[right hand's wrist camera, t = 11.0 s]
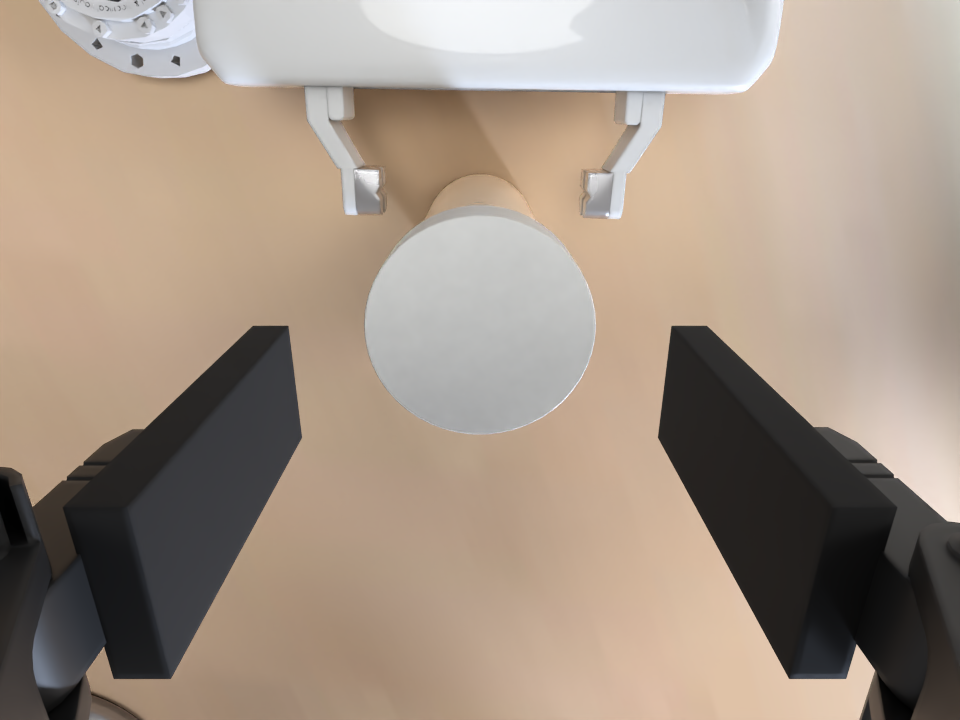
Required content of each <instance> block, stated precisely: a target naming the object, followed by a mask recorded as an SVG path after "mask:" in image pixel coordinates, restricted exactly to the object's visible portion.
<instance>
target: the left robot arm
mask: <svg viewBox="0 0 960 720" xmlns="http://www.w3.org/2000/svg"><path fill="white" fill-rule="evenodd" d="M783 4H784V0H193V10H194V22H195V33H196V41H197V46H198V50H199V53H200V55H201V57H202V58H203V60H204V61H205V62H206V63H207V64H208V66H209V67H210V68H211V69H212V70H213V72H214V73H215V74H216V75H217V76H218V77H219V78H220V79H221V81H222V82H224V83H226V84H229V85H235V86H243V87H282V88H304V89H305V101H306V113H307V121H308V123H309V124H310V126H311V127H312V129H313V131H314V132H315V134H316V135H317V137H318V139H319V140H320V142H321V143H322V145H323V146H324V148H325V150H326V151H327V153H328V154H329V156H330V157H331V159H332V161H333V162H334V164H335V165H336V167H337V168H339V169H341V180H342V195H343V208H344V211H345V214H346V215H383V213H384V212H385V211H386V207H387V195H386V193H385V191H384V190H383V187H384V185H385V183H386V172H385V166H367V165H366V164H365V163H364V161H363V159H362V157H361V156H360V154H359V152H358V150H357V149H356V147H355V145H354V144H353V142H352V140H351V138H350V137H349V135H348V133H347V131H346V130H345V128H344V126H343V124H342V123H341V121H340V120H352V119H353V118H354V117H355V110H354V89H409V90H473V91H536V92H600V93H616V97H615V110H614V122H615V123H616V124H623V125H628V126H627V127H626V129H625V131H624V132H623V134H622V135H621V137H620V139H619V140H618V142H617V144H616V145H615V147H614V148H613V150H612V152H611V153H610V155H609V156H608V158H607V160H606V161H605V163H604V164H603V166H602V169H582V172H581V185H580V186H581V187H582V189H583V191H584V192H583V193H582V194H581V196H580V199H579V212H580V215H582V217H583V218H599V219H607V218H608V219H620V217H621V215H622V211H623V202H624V192H625V182H626V173H630V172H631V170H632V169H633V167H634V166H635V164H636V163H637V161H638V160H639V159H640V157H641V156H642V154H643V153H644V151H645V150H646V148H647V147H648V145H649V144H650V142H651V141H652V139H653V138H654V137H655V135H656V134H657V132H658V131H659V129H660V128H661V125H662V117H663V109H664V101H665V94H734V93H741V92H744V91H746V90H748V89H749V88H750V87H751V86H752V85H753V84H754V83H755V82H756V80H757V79H758V78H759V77H760V76H761V75H762V74H763V72H764V71H765V70H766V69H767V68H768V66H769V65H770V63H771V61H772V60H773V57H774V54H775V50H776V46H777V41H778V37H779V31H780V25H781V18H782V11H783Z"/></svg>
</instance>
